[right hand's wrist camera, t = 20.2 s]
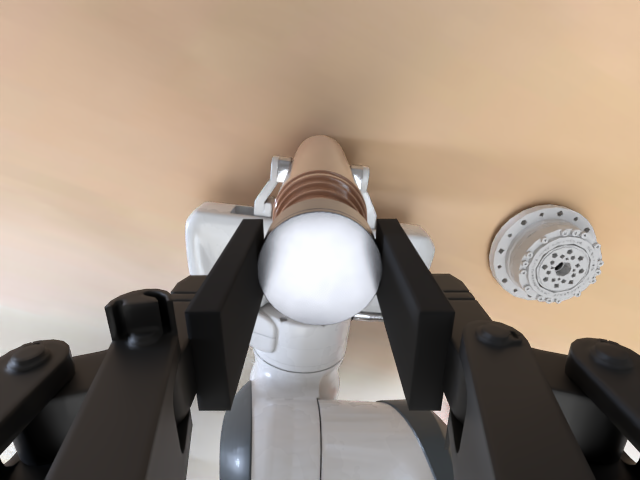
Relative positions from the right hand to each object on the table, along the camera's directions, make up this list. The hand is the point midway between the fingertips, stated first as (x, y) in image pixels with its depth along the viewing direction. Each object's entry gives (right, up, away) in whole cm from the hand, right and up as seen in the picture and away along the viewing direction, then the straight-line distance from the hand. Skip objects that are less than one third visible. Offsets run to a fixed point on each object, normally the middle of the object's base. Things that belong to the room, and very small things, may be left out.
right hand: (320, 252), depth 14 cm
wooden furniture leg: (0, +8, +21) cm, 22 cm away
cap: (0, 0, -1) cm, 1 cm away
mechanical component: (+22, 0, +24) cm, 33 cm away
